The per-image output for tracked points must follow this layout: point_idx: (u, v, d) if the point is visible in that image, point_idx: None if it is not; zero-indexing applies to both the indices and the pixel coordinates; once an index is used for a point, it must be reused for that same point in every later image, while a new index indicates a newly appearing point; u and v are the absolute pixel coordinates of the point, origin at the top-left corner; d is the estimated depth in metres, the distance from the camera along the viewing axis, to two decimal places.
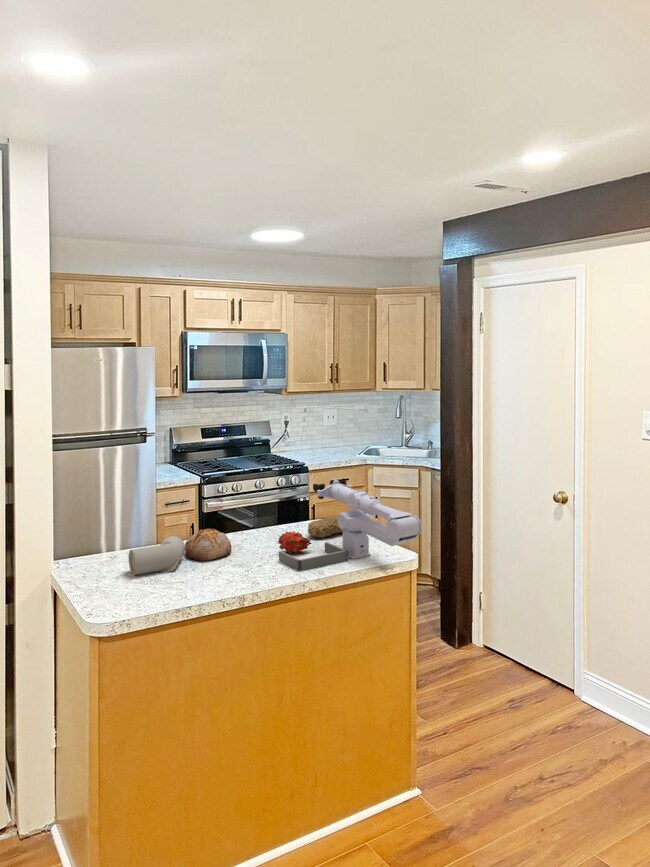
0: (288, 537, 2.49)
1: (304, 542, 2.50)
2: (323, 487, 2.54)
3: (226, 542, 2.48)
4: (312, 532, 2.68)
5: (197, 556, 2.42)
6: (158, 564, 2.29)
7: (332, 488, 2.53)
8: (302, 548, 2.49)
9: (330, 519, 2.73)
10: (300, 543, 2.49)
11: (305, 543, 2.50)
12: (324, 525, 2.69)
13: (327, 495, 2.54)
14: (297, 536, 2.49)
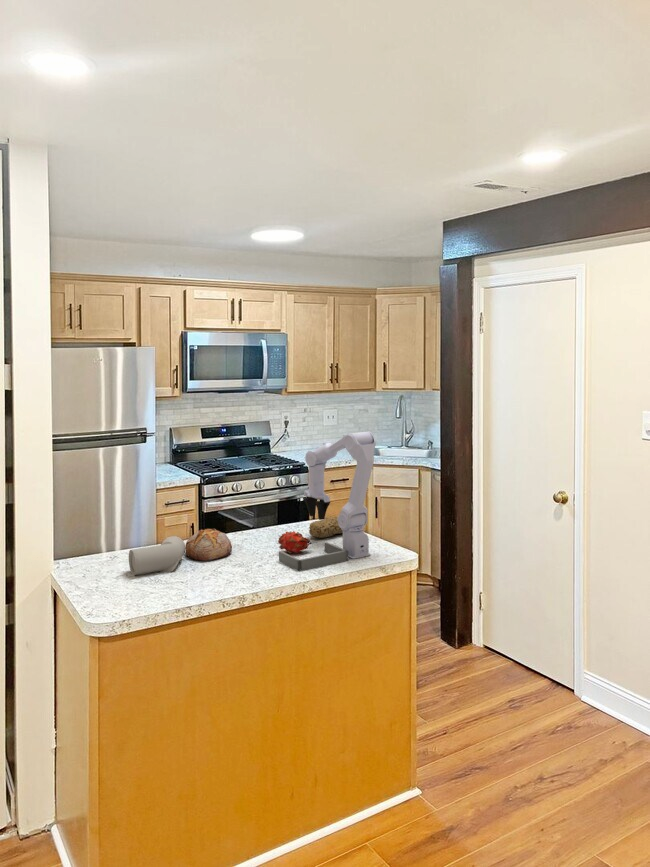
0: (288, 537, 2.49)
1: (304, 542, 2.50)
2: (318, 501, 2.59)
3: (227, 542, 2.48)
4: (313, 532, 2.67)
5: (197, 556, 2.42)
6: (157, 564, 2.29)
7: (316, 492, 2.60)
8: (302, 548, 2.49)
9: (331, 519, 2.73)
10: (300, 543, 2.49)
11: (305, 543, 2.50)
12: (325, 525, 2.68)
13: None
14: (297, 536, 2.49)
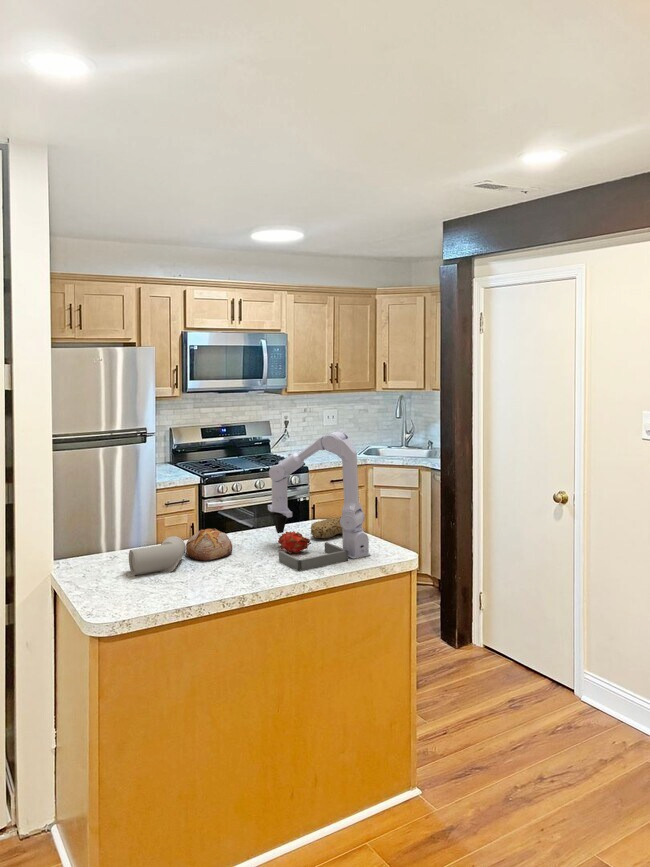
0: (288, 537, 2.49)
1: (304, 542, 2.50)
2: (277, 514, 2.57)
3: (227, 542, 2.48)
4: (315, 533, 2.66)
5: (198, 555, 2.42)
6: (157, 564, 2.29)
7: (279, 507, 2.56)
8: (302, 548, 2.49)
9: (333, 520, 2.72)
10: (300, 543, 2.49)
11: (305, 543, 2.50)
12: (327, 526, 2.67)
13: None
14: (297, 536, 2.49)
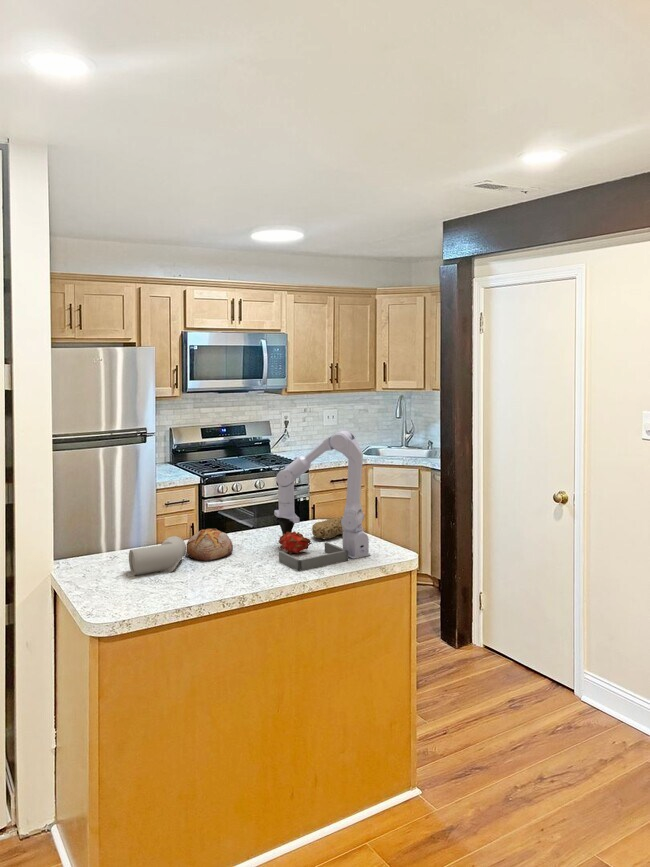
0: (289, 537, 2.49)
1: (305, 542, 2.49)
2: (284, 520, 2.54)
3: (228, 542, 2.48)
4: (317, 534, 2.65)
5: (199, 555, 2.42)
6: (157, 564, 2.29)
7: (286, 513, 2.52)
8: (303, 548, 2.49)
9: (334, 520, 2.72)
10: (301, 543, 2.48)
11: (306, 543, 2.50)
12: (329, 526, 2.67)
13: (294, 516, 2.53)
14: (298, 536, 2.49)
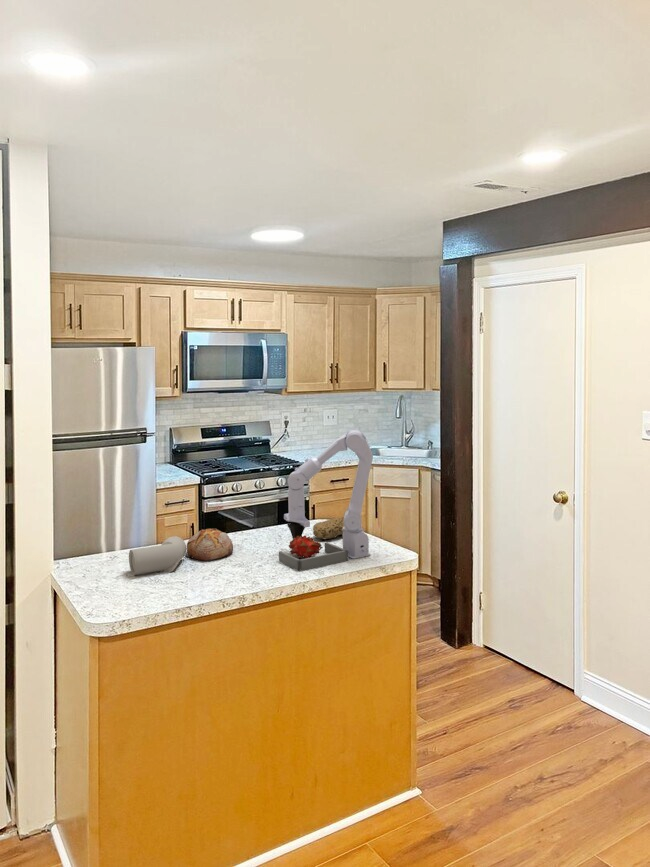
0: (299, 542, 2.43)
1: (316, 547, 2.44)
2: (294, 524, 2.48)
3: (228, 542, 2.48)
4: (318, 534, 2.65)
5: (199, 555, 2.42)
6: (157, 564, 2.29)
7: (296, 517, 2.46)
8: (314, 553, 2.43)
9: (335, 520, 2.71)
10: (312, 548, 2.43)
11: (317, 548, 2.44)
12: (330, 527, 2.66)
13: (304, 520, 2.47)
14: (309, 541, 2.43)
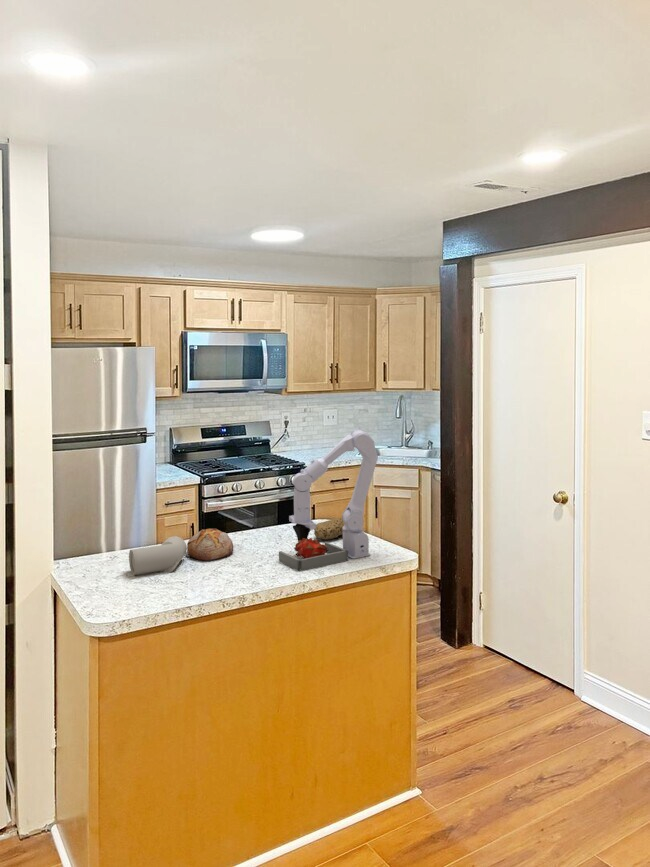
0: (305, 544, 2.40)
1: (322, 549, 2.41)
2: (299, 526, 2.45)
3: (228, 542, 2.49)
4: (319, 534, 2.65)
5: (199, 555, 2.42)
6: (157, 564, 2.29)
7: (301, 519, 2.43)
8: None
9: (336, 521, 2.71)
10: (318, 550, 2.39)
11: (323, 550, 2.41)
12: (331, 527, 2.66)
13: None
14: (315, 543, 2.40)
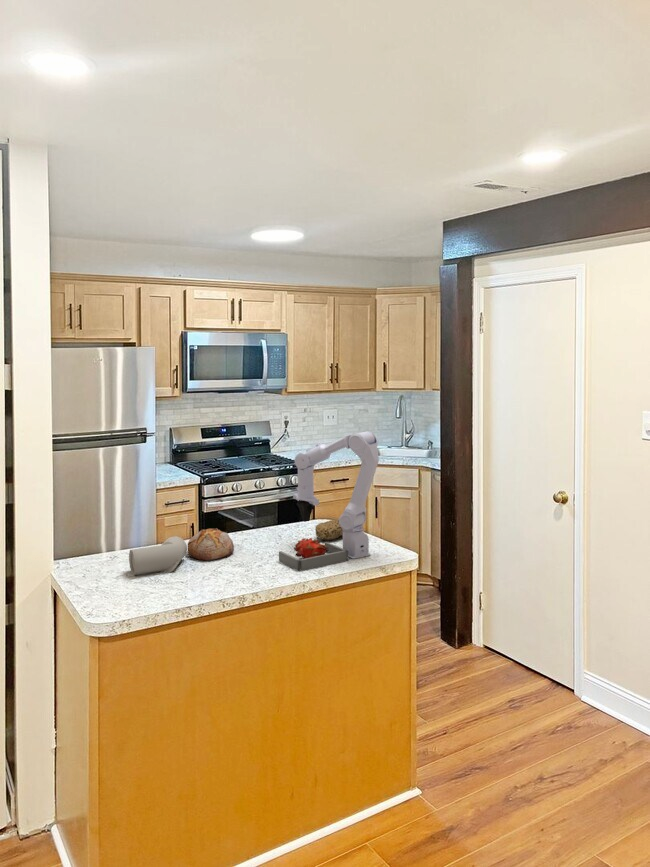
0: (305, 544, 2.40)
1: (322, 549, 2.41)
2: (303, 503, 2.57)
3: (229, 542, 2.49)
4: (321, 535, 2.64)
5: (200, 555, 2.42)
6: (157, 564, 2.29)
7: (305, 495, 2.55)
8: None
9: (337, 521, 2.71)
10: (318, 550, 2.40)
11: (323, 550, 2.41)
12: (332, 527, 2.66)
13: (313, 499, 2.56)
14: (315, 543, 2.40)
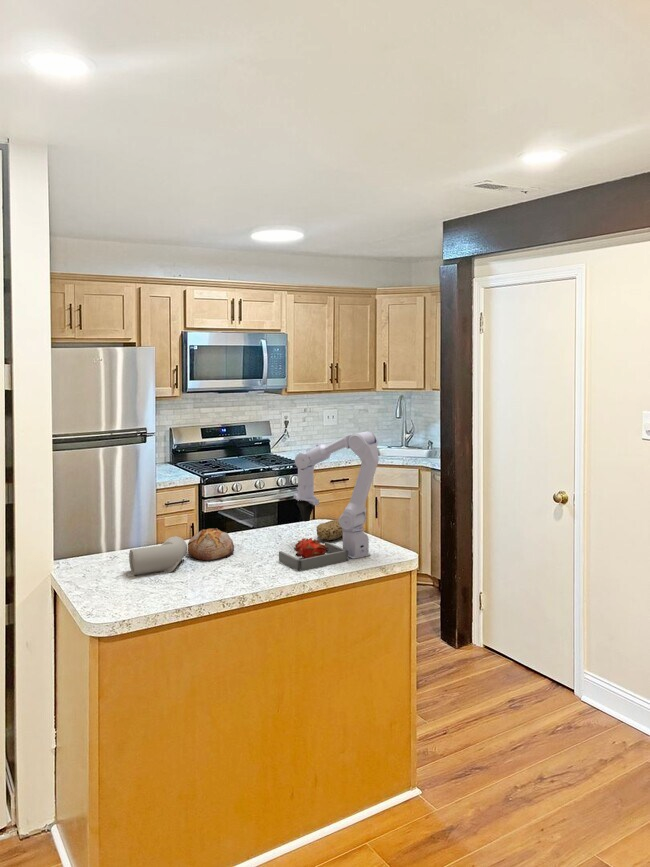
0: (305, 544, 2.40)
1: (322, 549, 2.41)
2: (303, 503, 2.57)
3: (229, 542, 2.49)
4: (322, 535, 2.63)
5: (200, 555, 2.42)
6: (157, 564, 2.29)
7: (305, 495, 2.55)
8: None
9: (338, 521, 2.70)
10: (318, 550, 2.40)
11: (323, 550, 2.41)
12: (334, 527, 2.65)
13: (314, 499, 2.56)
14: (315, 543, 2.40)
